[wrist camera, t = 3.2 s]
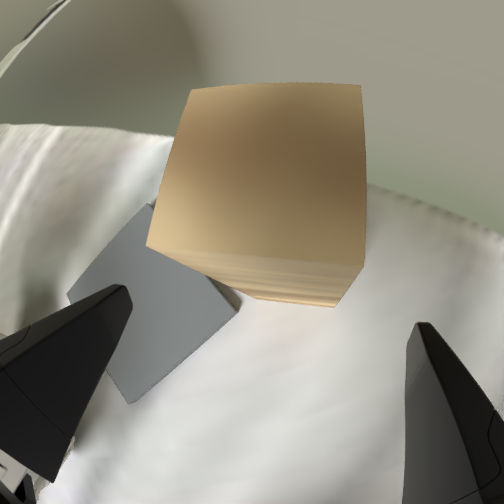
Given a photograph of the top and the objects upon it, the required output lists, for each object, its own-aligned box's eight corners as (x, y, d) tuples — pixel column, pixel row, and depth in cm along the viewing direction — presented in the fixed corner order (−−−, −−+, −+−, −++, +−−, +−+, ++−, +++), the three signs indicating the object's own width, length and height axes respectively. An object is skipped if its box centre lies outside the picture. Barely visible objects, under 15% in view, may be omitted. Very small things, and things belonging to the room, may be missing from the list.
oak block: (334, 307, 18) (363, 266, 6) (256, 299, 19) (145, 245, 7) (340, 231, 19) (360, 85, 7) (267, 225, 20) (191, 89, 8)
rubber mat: (134, 402, 19) (128, 404, 18) (72, 295, 23) (66, 294, 22) (238, 312, 19) (234, 311, 18) (152, 206, 23) (147, 202, 22)
